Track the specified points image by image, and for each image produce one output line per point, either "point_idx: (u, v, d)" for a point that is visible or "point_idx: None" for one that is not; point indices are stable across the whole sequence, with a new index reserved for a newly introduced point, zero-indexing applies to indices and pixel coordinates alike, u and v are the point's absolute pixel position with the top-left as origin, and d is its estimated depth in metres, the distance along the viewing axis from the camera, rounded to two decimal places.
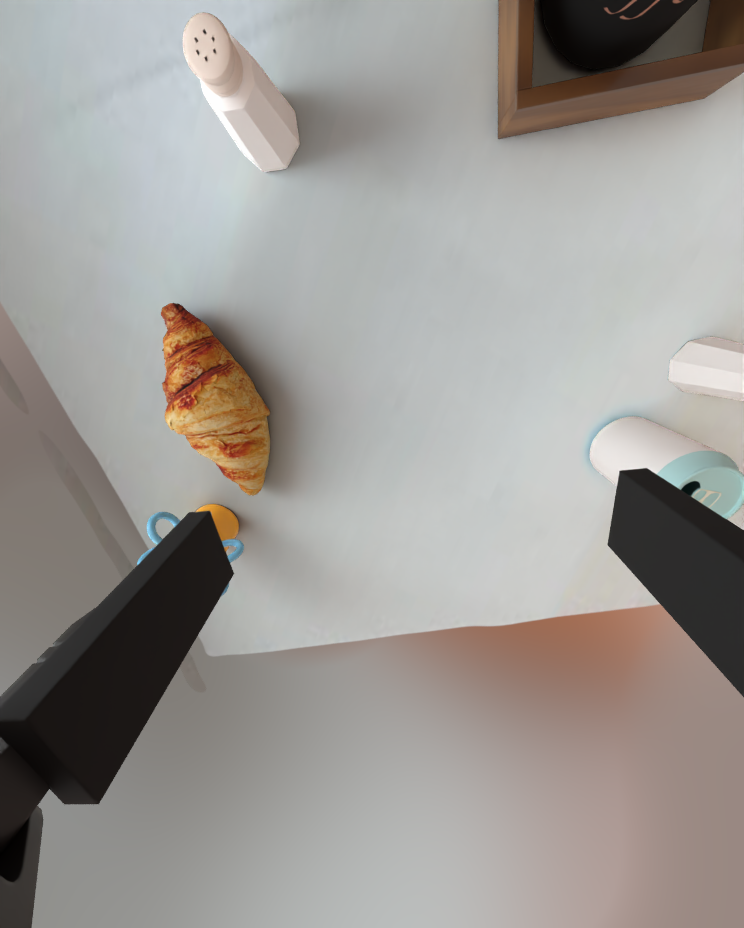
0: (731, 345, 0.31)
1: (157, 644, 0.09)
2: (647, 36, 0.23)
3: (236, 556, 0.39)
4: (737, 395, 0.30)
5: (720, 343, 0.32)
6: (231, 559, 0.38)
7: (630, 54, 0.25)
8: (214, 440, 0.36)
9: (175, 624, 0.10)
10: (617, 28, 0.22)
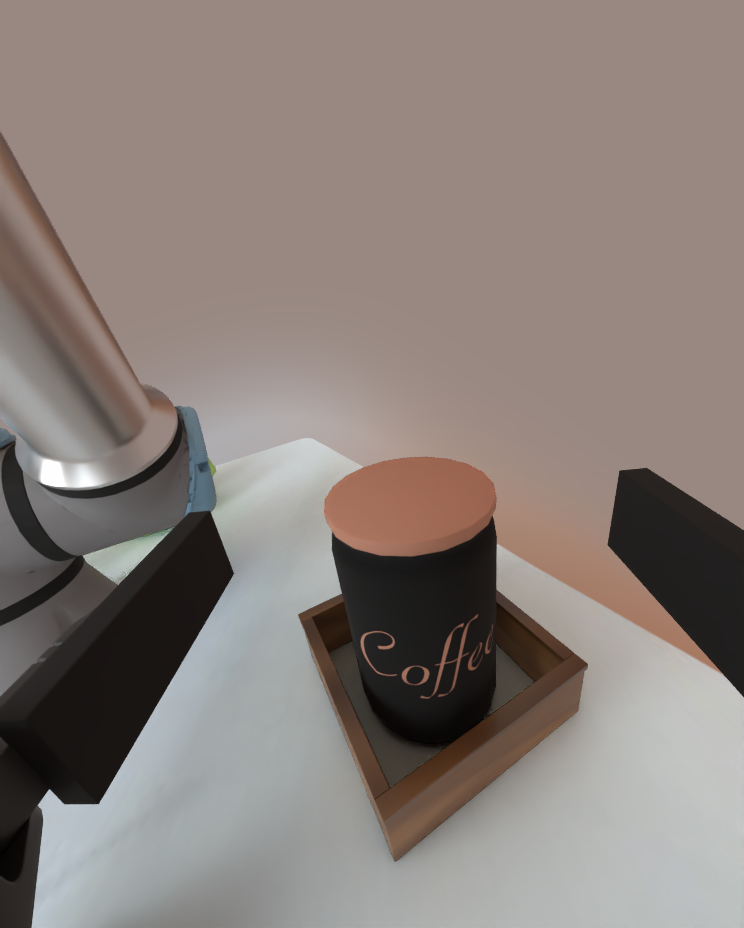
0: None
1: (157, 644, 0.09)
2: (477, 696, 0.23)
3: None
4: None
5: None
6: None
7: (477, 713, 0.24)
8: None
9: (175, 624, 0.10)
10: (444, 703, 0.22)
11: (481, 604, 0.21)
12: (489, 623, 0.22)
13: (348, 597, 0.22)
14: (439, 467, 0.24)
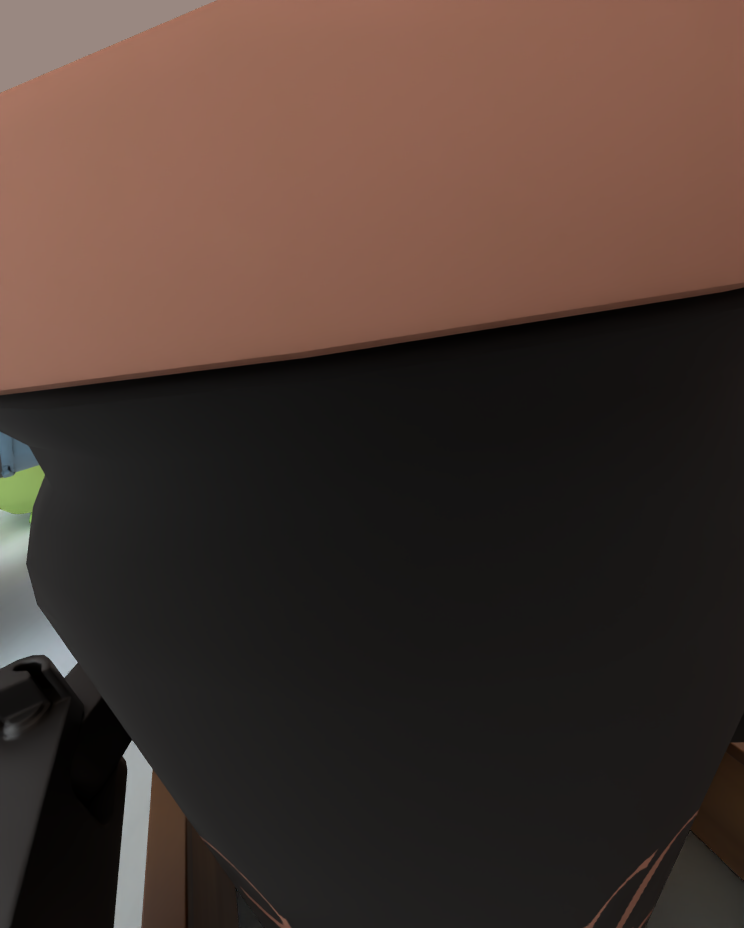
0: None
1: None
2: None
3: None
4: None
5: None
6: None
7: None
8: None
9: None
10: None
11: None
12: None
13: None
14: None
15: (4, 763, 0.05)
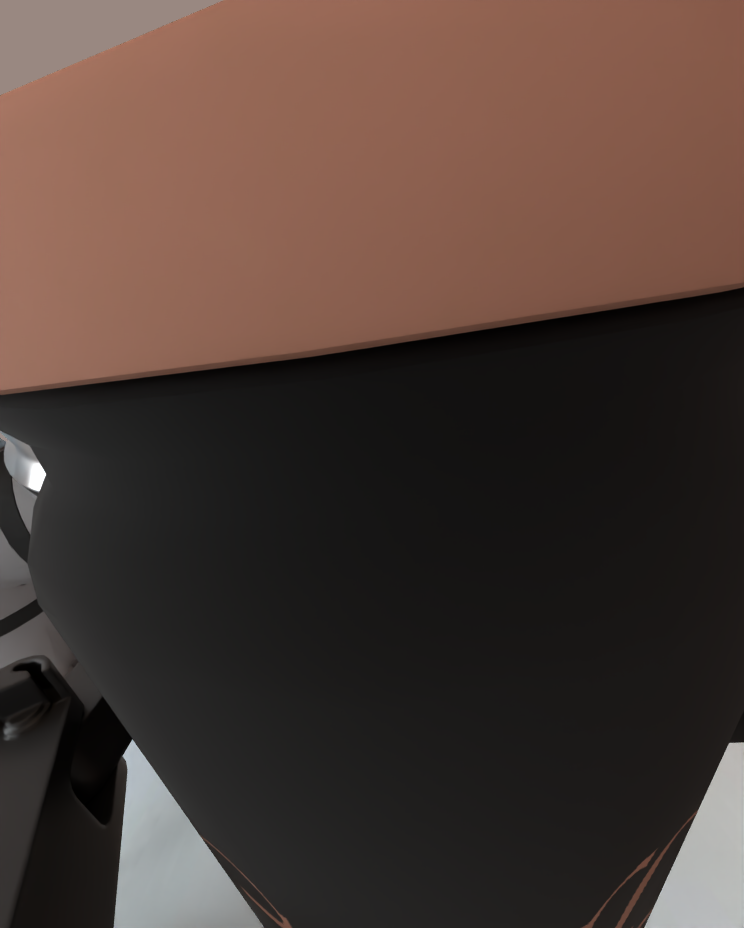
0: None
1: None
2: None
3: None
4: None
5: None
6: None
7: None
8: None
9: None
10: None
11: None
12: None
13: None
14: None
15: (4, 763, 0.05)
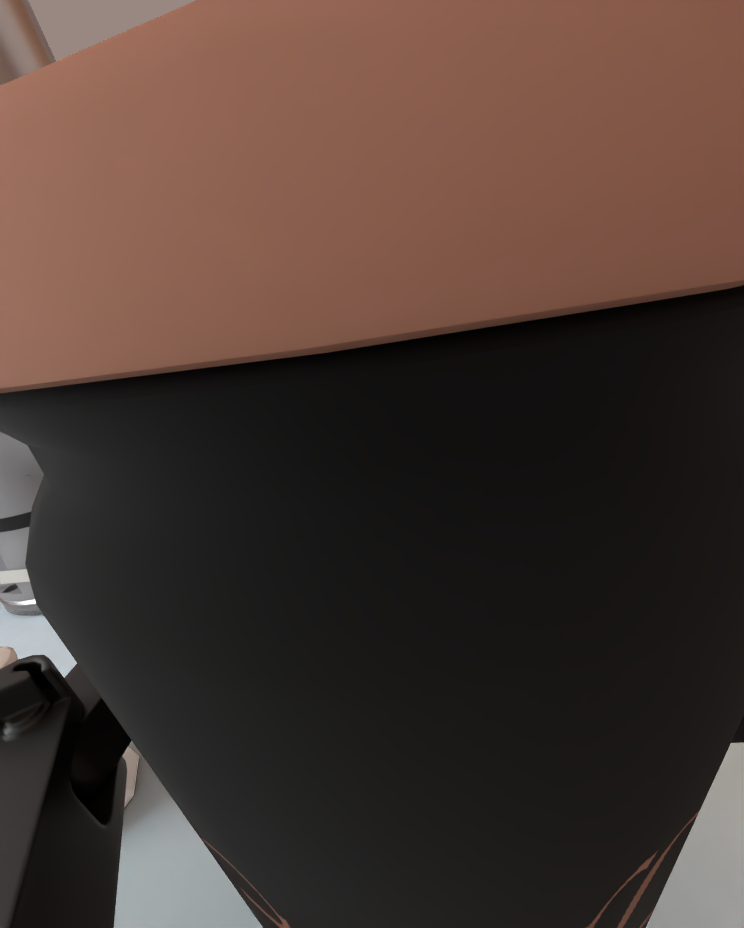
0: None
1: None
2: None
3: None
4: None
5: None
6: None
7: None
8: None
9: None
10: None
11: None
12: None
13: None
14: None
15: (4, 763, 0.05)
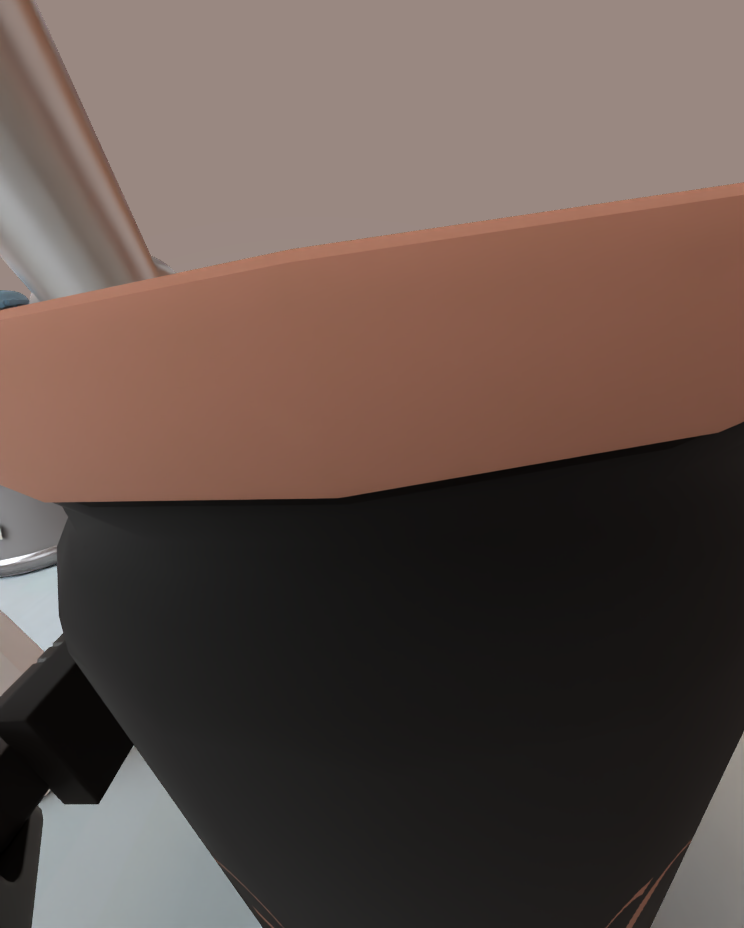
0: None
1: None
2: None
3: None
4: None
5: None
6: None
7: None
8: None
9: None
10: None
11: None
12: None
13: None
14: None
15: None
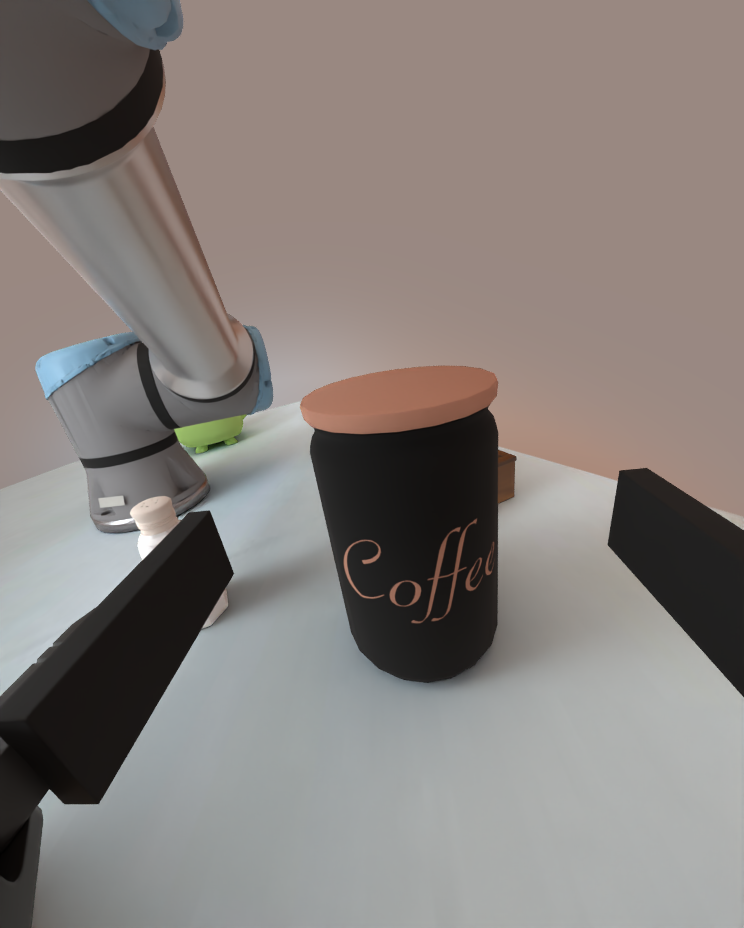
0: None
1: (157, 644, 0.09)
2: (476, 626, 0.21)
3: None
4: None
5: None
6: None
7: (477, 647, 0.21)
8: None
9: (175, 624, 0.10)
10: (439, 630, 0.20)
11: (481, 508, 0.18)
12: (490, 537, 0.19)
13: (328, 505, 0.19)
14: (433, 370, 0.22)
15: None
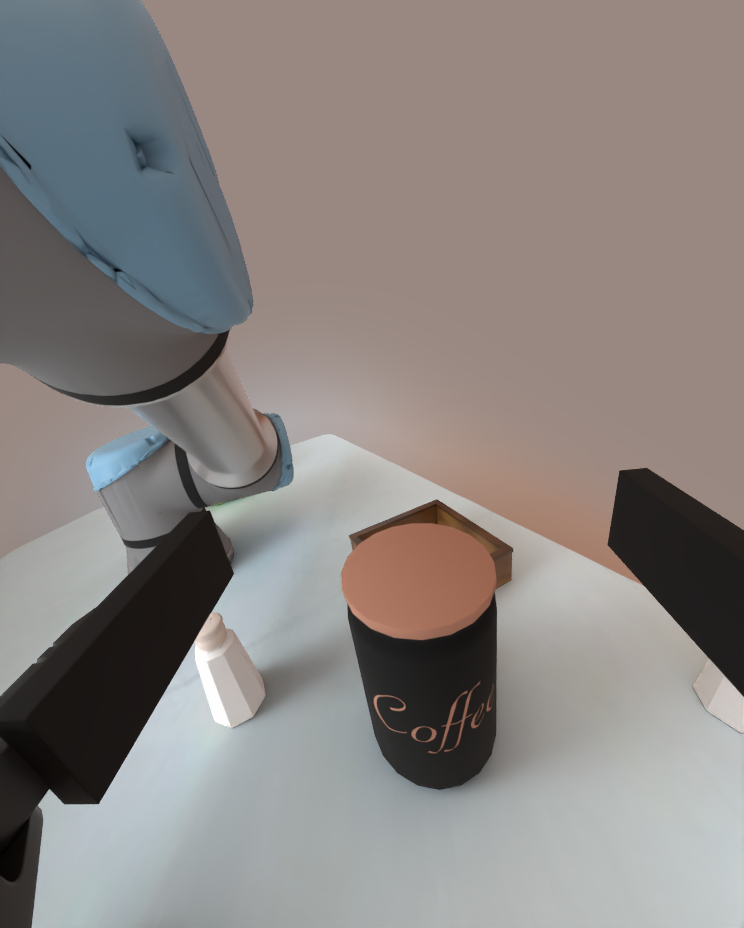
0: None
1: (157, 644, 0.09)
2: (479, 748, 0.26)
3: None
4: None
5: None
6: None
7: (480, 762, 0.27)
8: None
9: (175, 624, 0.10)
10: (449, 757, 0.25)
11: (483, 672, 0.23)
12: (490, 685, 0.25)
13: (363, 662, 0.24)
14: (444, 538, 0.27)
15: None
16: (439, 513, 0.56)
